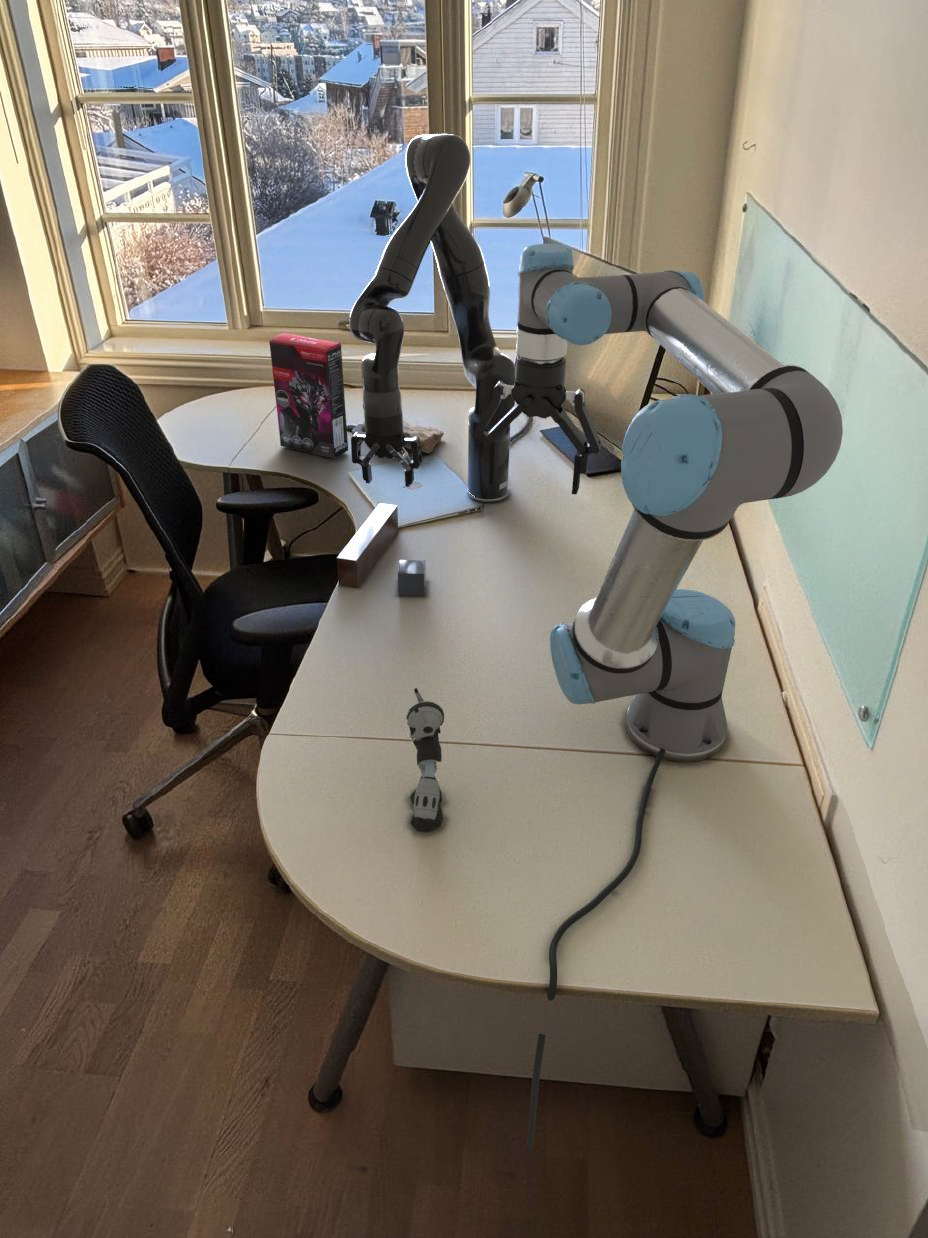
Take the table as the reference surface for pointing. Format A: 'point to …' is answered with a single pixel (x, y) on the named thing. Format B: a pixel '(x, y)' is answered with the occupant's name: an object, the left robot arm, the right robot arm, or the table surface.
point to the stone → (420, 435)
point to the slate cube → (411, 577)
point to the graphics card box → (309, 394)
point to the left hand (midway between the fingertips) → (388, 483)
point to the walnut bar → (367, 545)
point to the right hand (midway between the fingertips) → (533, 485)
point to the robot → (426, 762)
